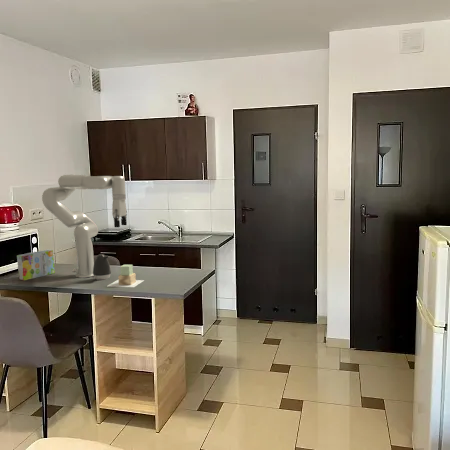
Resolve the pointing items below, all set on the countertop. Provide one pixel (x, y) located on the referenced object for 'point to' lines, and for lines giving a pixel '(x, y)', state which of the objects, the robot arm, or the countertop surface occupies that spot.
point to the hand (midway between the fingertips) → (120, 226)
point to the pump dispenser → (101, 267)
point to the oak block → (127, 279)
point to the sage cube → (126, 270)
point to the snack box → (35, 264)
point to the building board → (116, 284)
